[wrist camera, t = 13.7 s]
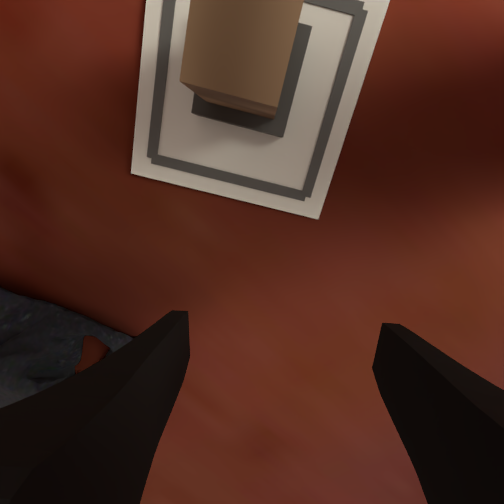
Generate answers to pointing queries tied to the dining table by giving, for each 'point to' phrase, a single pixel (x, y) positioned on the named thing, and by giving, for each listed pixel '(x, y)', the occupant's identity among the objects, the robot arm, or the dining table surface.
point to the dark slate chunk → (42, 344)
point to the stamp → (244, 61)
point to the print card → (245, 140)
